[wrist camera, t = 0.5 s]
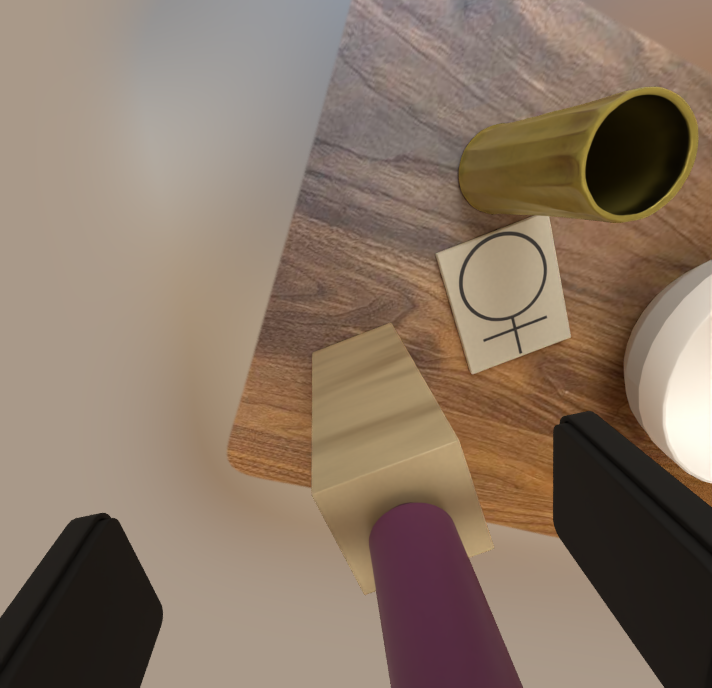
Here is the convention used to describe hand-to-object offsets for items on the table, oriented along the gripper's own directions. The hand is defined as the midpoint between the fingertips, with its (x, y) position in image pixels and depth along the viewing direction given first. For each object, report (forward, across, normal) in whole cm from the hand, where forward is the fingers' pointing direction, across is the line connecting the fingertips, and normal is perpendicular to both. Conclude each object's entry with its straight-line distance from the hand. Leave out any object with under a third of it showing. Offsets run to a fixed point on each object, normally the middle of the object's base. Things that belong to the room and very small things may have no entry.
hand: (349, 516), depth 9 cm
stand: (+25, -2, +9) cm, 27 cm away
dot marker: (+8, -2, +9) cm, 12 cm away
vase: (+25, -14, -5) cm, 29 cm away
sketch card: (+25, -14, +4) cm, 29 cm away
